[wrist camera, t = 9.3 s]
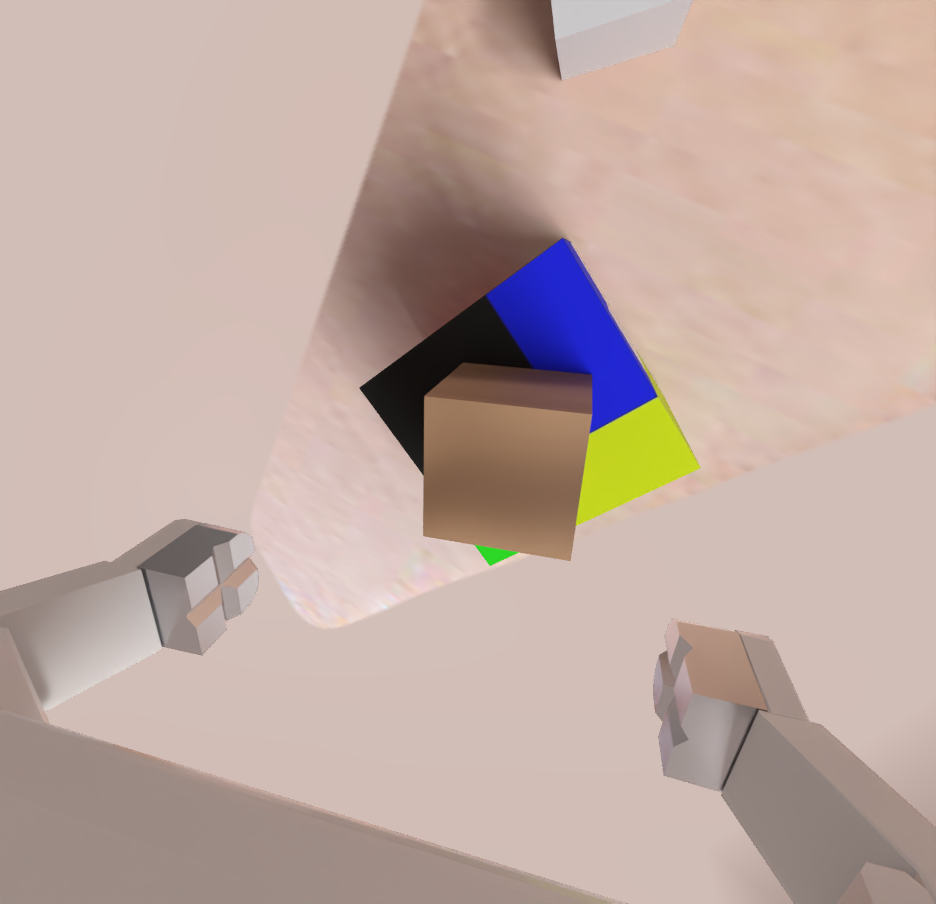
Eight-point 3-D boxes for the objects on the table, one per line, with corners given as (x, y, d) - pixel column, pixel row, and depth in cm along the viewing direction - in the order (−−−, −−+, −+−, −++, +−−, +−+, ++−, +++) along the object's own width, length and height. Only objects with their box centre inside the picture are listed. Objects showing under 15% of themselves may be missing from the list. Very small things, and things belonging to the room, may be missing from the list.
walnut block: (463, 362, 19) (424, 396, 15) (592, 374, 18) (592, 414, 14) (459, 475, 21) (423, 536, 17) (575, 492, 20) (570, 561, 16)
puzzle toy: (572, 243, 26) (562, 237, 17) (664, 398, 28) (700, 468, 19) (429, 347, 30) (359, 387, 21) (518, 476, 32) (489, 565, 23)
